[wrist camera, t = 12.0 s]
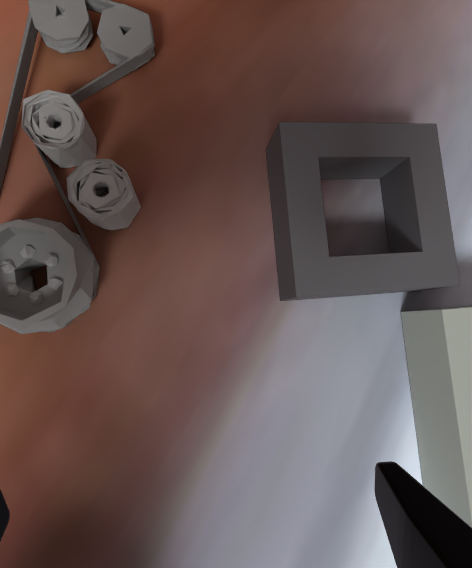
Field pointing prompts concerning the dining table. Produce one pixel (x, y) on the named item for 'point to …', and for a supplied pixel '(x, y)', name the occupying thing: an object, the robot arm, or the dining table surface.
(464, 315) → the tray
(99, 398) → the dining table surface
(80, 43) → the pulley system
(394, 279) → the pin socket
